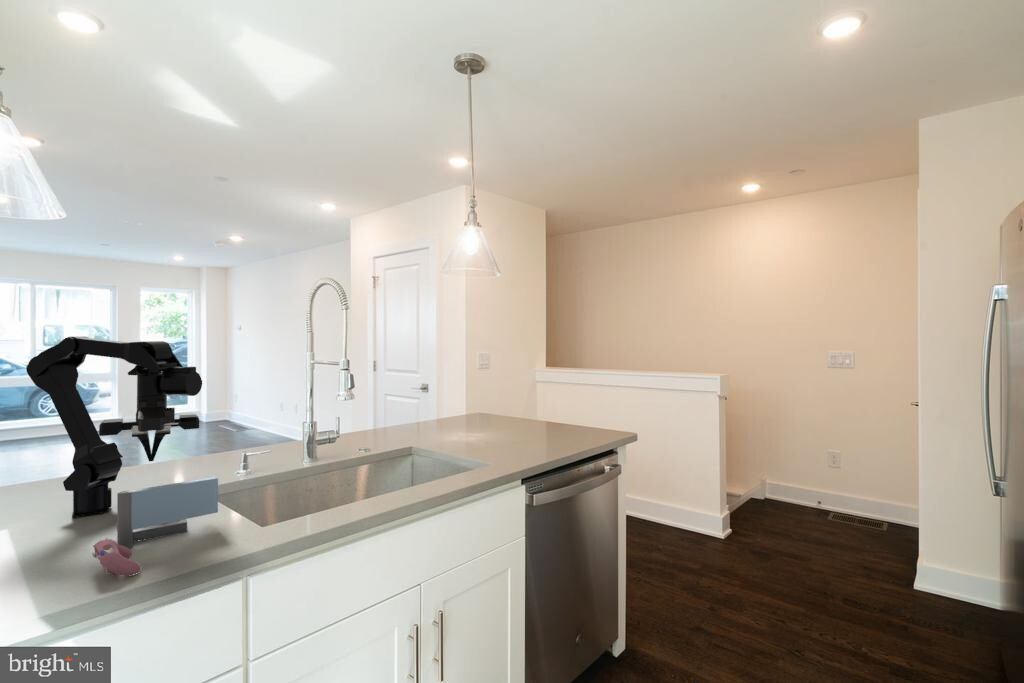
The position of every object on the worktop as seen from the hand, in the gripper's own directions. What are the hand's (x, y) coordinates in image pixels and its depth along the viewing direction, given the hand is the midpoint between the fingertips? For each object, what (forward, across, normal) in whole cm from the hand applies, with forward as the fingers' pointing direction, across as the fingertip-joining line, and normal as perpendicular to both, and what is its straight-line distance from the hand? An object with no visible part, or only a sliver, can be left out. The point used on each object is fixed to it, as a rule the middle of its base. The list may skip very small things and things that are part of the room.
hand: (151, 461), depth 117 cm
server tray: (+12, +1, -8) cm, 15 cm away
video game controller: (+13, -5, -31) cm, 34 cm away
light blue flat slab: (+12, +3, -19) cm, 23 cm away
